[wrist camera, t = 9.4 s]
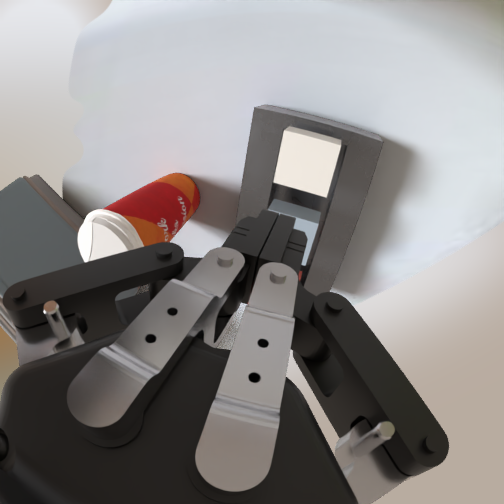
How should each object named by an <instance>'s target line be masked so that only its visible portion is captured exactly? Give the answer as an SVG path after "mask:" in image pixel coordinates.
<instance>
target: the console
mask: <svg viewBox="0 0 504 504" xmlns="http://www.w3.org/2000/svg"><path fill="white" fill-rule="evenodd" d="M289 126H291V127H295V128H299V129H303V130H307V131H311V132H315V133H319V134H322V135H326V136H329V137H333V138H336V139H340V140H341V148H340V152H339V155H338V159H337V163H336V166H335V170H334V173H333V177H332V180H331V184H330V187H329V191H328V194H327V198H326V197H323V196H319V195H316V194H313V193H309V192H306V191H302V190H299V189H295V188H292V187H288V186H284V185H281V184H277V183H273V182H274V177H275V172H276V167H277V162H278V157H279V152H280V147H281V142H282V137H283V133H284V130H285V129H286V128H288V127H289ZM382 144H383V141H382V139H381V138H380V136H379V135H377V134H374V133H371V132H368V131H365V130H362V129H359V128H356V127H353V126H349V125H346V124H343V123H339V122H336V121H332V120H329V119H325V118H321V117H318V116H314V115H310V114H306V113H302V112H297V111H293V110H289V109H284V108H280V107H275V106H270V105H261V106H258V107H254V112H253V118H252V124H251V130H250V136H249V142H248V148H247V154H246V160H245V167H244V173H243V179H242V186H241V192H240V199H239V205H238V212H237V218H236V225H237V224H238V222H239V221H240V220H241V219H243V218H245V217H247V216H251V217H254V218H257V217H258V216H259V214H260V212H261V211H262V209H266V210H268V208H269V206H270V205H271V203H272V201H273V200H274V199H278V200H281V201H285V202H288V203H292V204H295V205H299V206H302V207H306V208H309V209H312V210H316V211H319V212H321V215H320V220H319V225H318V228H317V231H316V234H315V237H314V241H313V244H312V247H311V250H310V253H309V256H308V259H307V262H306V265H305V266H304V265H301V268H300V271H302V275H301V279H300V283H301V285H302V286H303V287H304V288H305V289H306V290H307V291H309V292H310V293H312V294H314V295H315V296H317V295H319V294H320V293H323V292H329V291H330V289H331V287H332V284H333V282H334V279H335V277H336V275H337V272H338V270H339V267H340V265H341V262H342V260H343V257H344V255H345V252H346V250H347V247H348V244H349V242H350V239H351V236H352V234H353V231H354V228H355V226H356V223H357V220H358V217H359V215H360V212H361V209H362V206H363V203H364V200H365V198H366V195H367V192H368V189H369V186H370V183H371V180H372V177H373V173H374V170H375V167H376V164H377V161H378V158H379V154H380V151H381V148H382ZM236 225H235V227H236Z"/></svg>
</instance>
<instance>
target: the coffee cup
mask: <svg viewBox="0 0 504 504" xmlns="http://www.w3.org/2000/svg"><path fill="white" fill-rule="evenodd" d="M199 203H200V194H199V190H198V188H197V186H196V184H195V183H194V182H193V180H192V179H190V178H189V177H188V176H186V175H184V174H181V173H172V174H169V175H167V176H164V177H162V178H160V179H158V180H156V181H154V182H152V183H150V184H148V185H146V186H144V187H142V188H140V189H138V190H136V191H134V192H133V193H131V194H129V195H127V196H125V197H123V198H122V199H120V200H118V201H116V202H114V203H113V204H111V205H109V206H107V207H106V208H104V209H97V210H94V211H92V212H90V213H89V214H88V215H87V216H86V218H85V220H84V223H83V224H82V225H81V227H80V229H79V232H78V247H79V250H80V253H81V256H82V258H83V260H84V262H89V261H92V260H96V259H99V258H103V257H107V256H110V255H114V254H118V253H121V252H125V251H129V250H133V249H137V248H140V247H144V246H148V245H152V244H156V243H160V242H170V241H171V240H172V238H173V237H174V236H175V235H176V234H177V232H178V231H179V230H180V229H181V228H182V227H183V225H184V224H185V223H186V222H187V221H188V219H189V218H190V217H191V216H192V215H193V213H194V212H195V211H196V209H197V208H198V206H199Z"/></svg>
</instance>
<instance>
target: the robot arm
mask: <svg viewBox="0 0 504 504" xmlns="http://www.w3.org/2000/svg"><path fill="white" fill-rule="evenodd" d="M295 221H296V218H295V217H292V216H288V215H285V214H281V213H280V215H279V213H277V212H274V211H270V210H266V209H262V211H261V212H260V214H259V216H258V217H257V218H254V217H251V216H247V217H245V218H243V219H241V220H240V221H239V222H238V224H237V225H236V227H235V228H234V230H233V231H232V232H231V234H230V235H229V237H228V238H227V240H226V241H225V242H224V244H223V245H222V247H219V248H215V249H212V250H210V251H209V252H208V253H207V254H206V255H205V256H204V257H203V258H193V257H184V252H183V249H182V248H181V247H180V246H178V245H177V244H174V243H170V242H160V243H156V244H152V245H148V246H144V247H140V248H137V249H133V250H129V251H125V252H121V253H118V254H114V255H110V256H107V257H103V258H99V259H96V260H92V261H89V262H85V263H81V264H78V265H74V266H71V267H67V268H64V269H60V270H57V271H54V272H50V273H47V274H43V275H40V276H37V277H33V278H30V279H27V280H23V281H20V282H17V283H15V284H13V285H12V286H10V287H9V288H8V289H7V290H6V292H5V293H4V295H3V301H2V302H3V305H4V307H5V309H6V311H7V313H8V315H9V317H10V319H11V322H12V324H13V326H14V328H15V330H16V341H17V350H18V359H19V366H20V367H18V368H17V369H16V370H15V371H14V372H13V373H12V374H11V375H10V376H9V378H8V379H7V381H6V383H5V385H4V388H3V391H2V395H1V401H0V504H371V503H373V502H374V501H376V500H378V499H379V498H381V497H382V496H384V495H385V494H386V493H388V492H389V491H391V490H392V489H394V488H395V487H396V486H398V485H399V484H401V483H402V482H404V481H406V480H408V479H410V478H413V477H415V476H417V475H419V474H421V473H423V472H425V471H427V470H430V469H432V468H433V467H435V466H437V465H439V464H441V463H442V462H443V461H444V460H445V458H446V456H447V454H448V450H449V442H448V438H447V435H446V434H445V432H444V430H443V429H442V428H441V426H440V425H439V423H438V422H437V420H436V419H435V417H434V416H433V414H432V413H431V411H430V410H429V409H428V407H427V406H426V404H425V403H424V401H423V400H422V398H421V397H420V396H419V394H418V393H417V392H416V390H415V389H414V387H413V386H412V384H411V383H410V382H409V381H408V379H407V378H406V376H405V375H404V373H403V372H402V371H401V370H400V368H399V367H398V365H397V364H396V362H395V361H394V360H393V358H392V357H391V356H390V354H389V353H388V352H387V350H386V349H385V348H384V346H383V345H382V344H381V342H380V341H379V340H378V338H377V337H376V336H375V334H374V333H373V332H372V331H371V329H370V328H369V327H368V325H367V324H366V323H365V321H364V320H363V319H362V317H361V316H360V315H359V314H358V312H357V311H356V310H355V308H354V307H353V306H352V305H351V303H350V302H349V301H348V300H347V299H346V298H344V297H343V296H341V295H339V294H337V293H333V292H323V293H320V294H319V295H317V296H315V295H314V294H312V293H310V292H309V291H307V290H306V289H305V288H304V287H303V286H302V285H301V283H300V281H299V272H300V268H301V264H302V260H303V257H304V253H305V249H306V245H307V241H308V238H307V236H306V234H305V232H303V231H300V230H297V229H294V225H295ZM146 284H148V285H149V291H147V292H144V293H141V294H137V295H134V296H131V297H128V298H124V299H121V300H117V301H115V298H116V296H117V295H118V294H119V293H121V292H123V291H126V290H129V289H133V288H136V287H139V286H143V285H146ZM241 302H242V303H245V304H248V306H247V305H246V307H245V310H244V313H243V316H242V319H241V322H240V325H239V328H238V331H237V334H236V337H235V340H234V343H233V346H232V349H231V350H226V349H218V348H217V347H218V345H219V343H220V342H221V340H222V338H223V337H224V335H225V333H226V331H227V330H228V328H229V326H230V325H231V323H232V321H233V320H234V318H235V316H236V311H237V309H238V308H239V306H240V303H241ZM248 302H249V303H248ZM290 349H292V350H293V357H294V359H295V361H296V363H297V364H298V367H299V368H300V370H301V372H302V374H303V375H304V377H305V379H306V380H307V382H308V384H309V386H310V387H311V389H312V391H313V393H314V394H315V396H316V398H317V400H318V401H319V403H320V405H321V407H322V408H323V410H324V412H325V414H326V415H327V417H328V419H329V421H330V422H331V424H332V426H333V427H334V429H335V431H336V432H337V434H338V436H339V438H340V439H339V440H338V442H337V444H336V447H335V456H336V458H335V456H334V454H333V452H332V450H331V448H330V446H329V444H328V442H327V441H326V439H325V437H324V435H323V433H322V431H321V429H320V427H319V425H318V423H317V421H316V419H315V417H314V415H313V413H312V411H311V409H310V408H309V405H308V403H307V401H306V400H305V398H304V396H303V394H302V393H301V391H300V390H299V389H298V388H297V386H296V385H295V384H294V383H293V382H292V381H291V380H289V379H288V378H287V377H286V372H287V367H288V361H289V355H290ZM336 459H337V460H336Z"/></svg>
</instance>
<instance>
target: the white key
mask: <svg viewBox="0 0 504 504" xmlns="http://www.w3.org/2000/svg"><path fill="white" fill-rule="evenodd" d="M340 148H341V140H340V139H336V138H333V137H329V136H326V135H322V134H319V133H315V132H311V131H307V130H303V129H299V128H295V127H291V126H289V127H288V128H286V129H285V130H284V133H283V137H282V142H281V147H280V152H279V157H278V162H277V167H276V172H275V177H274V182H273V183H277V184H281V185H284V186H288V187H292V188H295V189H299V190H302V191H306V192H309V193H313V194H316V195H319V196H323V197H326V198H327V194H328V191H329V187H330V184H331V180H332V177H333V173H334V170H335V166H336V163H337V159H338V155H339V152H340Z"/></svg>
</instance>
